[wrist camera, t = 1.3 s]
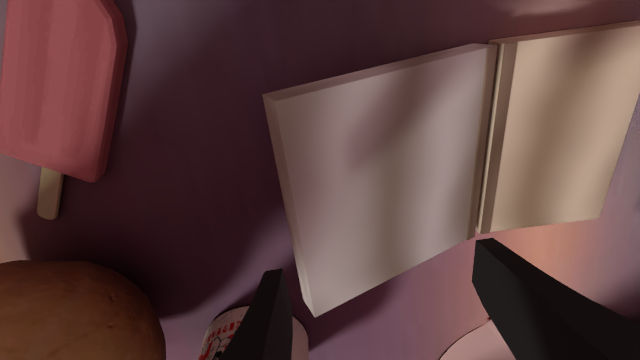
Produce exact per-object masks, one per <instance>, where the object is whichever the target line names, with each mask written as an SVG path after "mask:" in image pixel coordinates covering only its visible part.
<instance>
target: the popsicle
mask: <svg viewBox="0 0 640 360" xmlns="http://www.w3.org/2000/svg"><path fill="white" fill-rule="evenodd" d="M127 48H128V40H127V34H126V29H125V23H124V18H123V15H122V14H121V12H120V11H119V9H118V7H117V6H116V4H115V3H114V1H113V0H8V4H7V16H6V27H5V38H4V49H3V60H2V71H1V82H0V153H2V154H5V155H8V156H11V157H14V158H17V159H20V160H23V161H26V162H29V163H32V164H35V165H38V166H41V167H42V169H41V178H40V187H39V195H38V204H37V213H38V215H39V216H40V217H42V218H44V219H47V220H53V219H54V218H56V217H57V216H58V212H59V205H60V198H61V191H62V185H63V178H64V174H65V175H68V176H71V177H74V178H77V179H80V180H84V181H87V182H90V183H95V182H96V181H98V180H99V179H100V178H101V177H102V176H103V175H104V174H105V171H106V166H107V161H108V156H109V151H110V146H111V140H112V135H113V130H114V125H115V120H116V114H117V108H118V102H119V96H120V90H121V84H122V78H123V72H124V66H125V60H126V54H127Z"/></svg>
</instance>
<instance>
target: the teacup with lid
mask: <svg viewBox="0 0 640 360" xmlns="http://www.w3.org/2000/svg"><path fill="white" fill-rule="evenodd" d="M248 308H249V306H245V307H240V308H236V309H233V310H230V311H228V312H226V313H224V314H222V315H220V316H219V317H218V318H216V319H215V320H214V321H213V322H212V323H211V325H210V326H209V327H208V329H207V331H206V334H205V337H204V341H203V345H202V348H201V352H200V355H199V359H198V360H218V359H219V357H220V356H221V354H222V353H223V351H224V350H225V348H226V347H227V345H228V344H229V342H230V340H231V338H232V337H233V335H234V333H235V332H236V330H237V328H238V326H239V325H240V323H241V321H242V319H243V317H244V315H245V314H246V312H247V310H248ZM292 319H293V342H292V356H291V360H309V353H308V336H307V333H306V331H305V329H304V327H303V326H302V324H301V323H300V322H299V321H298V320H297V319H296V318H294V317H293V316H292Z"/></svg>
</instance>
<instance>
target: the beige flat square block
mask: <svg viewBox="0 0 640 360" xmlns="http://www.w3.org/2000/svg"><path fill="white" fill-rule="evenodd" d="M496 54H497V45H488V44H475V43H472V44H468V45H464V46H459V47H455V48H451V49H447V50H443V51H439V52H435V53H431V54H426V55H422V56H418V57H414V58H410V59H406V60H402V61H398V62H393V63H389V64H385V65H381V66H377V67H373V68H369V69H365V70H360V71H356V72H352V73H348V74H344V75H340V76H336V77H332V78H327V79H323V80H319V81H315V82H311V83H307V84H303V85H298V86H294V87H290V88H286V89H282V90H278V91H274V92H270V93H265V94H262V96H263V101H264V106H265V111H266V116H267V121H268V126H269V131H270V136H271V141H272V146H273V151H274V156H275V161H276V166H277V171H278V176H279V181H280V186H281V191H282V196H283V201H284V206H285V211H286V216H287V221H288V226H289V231H290V236H291V241H292V246H293V251H294V256H295V261H296V266H297V271H298V276H299V281H300V286H301V291H302V296H303V300H304V302H305V303H306V305H307V306H308V308H309V309H310V311H311V313H312V314H313V316H314V317H315V318H316V317H317V316H319V315H321V314H323V313H325V312H327V311H329V310H331V309H333V308H335V307H337V306H339V305H341V304H343V303H345V302H347V301H348V300H350V299H352V298H354V297H356V296H358V295H360V294H362V293H364V292H366V291H368V290H370V289H372V288H374V287H376V286H378V285H379V284H381V283H383V282H385V281H387V280H389V279H391V278H393V277H395V276H397V275H399V274H401V273H403V272H405V271H407V270H408V269H410V268H412V267H414V266H416V265H418V264H420V263H422V262H424V261H426V260H428V259H430V258H432V257H434V256H436V255H438V254H439V253H441V252H443V251H445V250H447V249H449V248H451V247H453V246H455V245H457V244H459V243H461V242H463V241H465V240H469V239H471V238H473V237H475V228H476V220H477V212H478V203H479V195H480V187H481V178H482V170H483V162H484V154H485V145H486V137H487V129H488V120H489V112H490V104H491V95H492V87H493V79H494V70H495V62H496Z"/></svg>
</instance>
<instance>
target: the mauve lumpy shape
mask: <svg viewBox="0 0 640 360" xmlns="http://www.w3.org/2000/svg"><path fill="white" fill-rule="evenodd" d="M440 360H516V359H515V357H514V356H513V354H512V352H511V351H510V349H509V347H508V346H507V344H506V343H505V341H504V339H503V338H502V336H501V335H500V333H499V331H498V330H497V328H496V326H495V325H494V323H493V322H492V320H491V319H490V320H489V321H488V322H486V323H485V325H483V326H481V327H479V328H477V329H475V330H473V331H472V332H470V333H468V334H466V335H465V336H464V337H462V338H461V339H459V340H458V341H457V342H456V343H454V344H453V345H452V346H451V347H450V348H449V349H448V350H447V352H446V353H445V354H444V355H443V356H442V358H441V359H440Z"/></svg>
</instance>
